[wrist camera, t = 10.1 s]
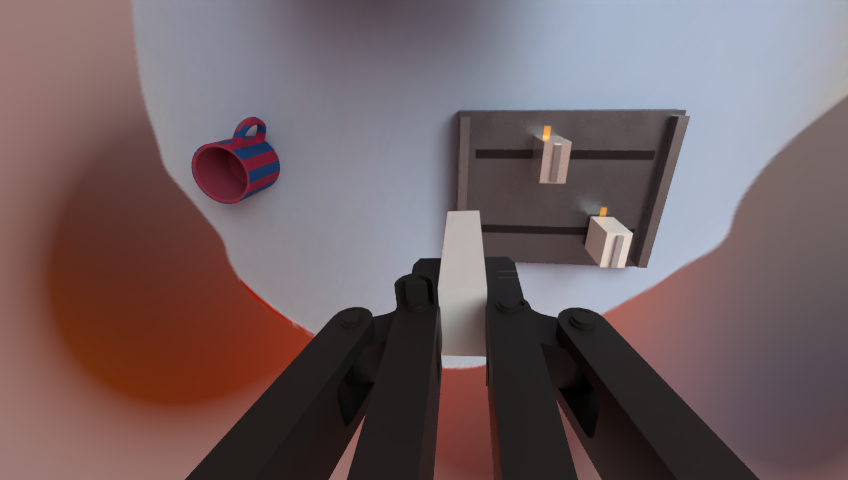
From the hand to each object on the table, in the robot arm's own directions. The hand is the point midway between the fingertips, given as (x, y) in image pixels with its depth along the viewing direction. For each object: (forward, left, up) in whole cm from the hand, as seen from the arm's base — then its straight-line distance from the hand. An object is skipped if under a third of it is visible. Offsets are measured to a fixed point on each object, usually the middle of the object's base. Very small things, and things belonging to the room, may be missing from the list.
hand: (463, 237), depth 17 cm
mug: (+1, -25, -26) cm, 37 cm away
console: (+5, +11, -26) cm, 29 cm away
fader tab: (+9, +16, -24) cm, 30 cm away
